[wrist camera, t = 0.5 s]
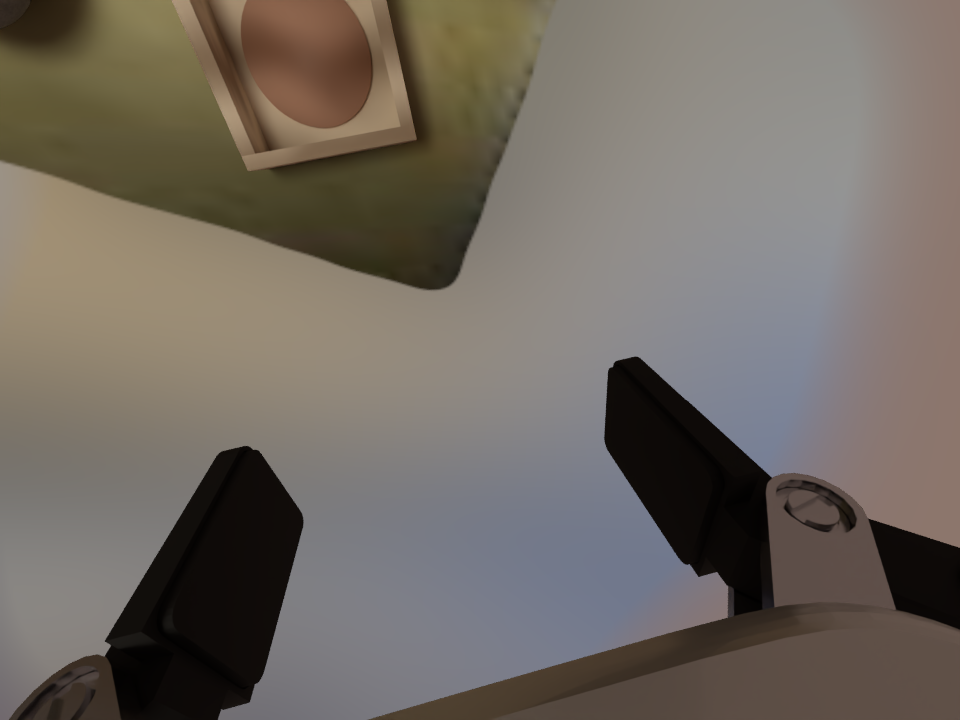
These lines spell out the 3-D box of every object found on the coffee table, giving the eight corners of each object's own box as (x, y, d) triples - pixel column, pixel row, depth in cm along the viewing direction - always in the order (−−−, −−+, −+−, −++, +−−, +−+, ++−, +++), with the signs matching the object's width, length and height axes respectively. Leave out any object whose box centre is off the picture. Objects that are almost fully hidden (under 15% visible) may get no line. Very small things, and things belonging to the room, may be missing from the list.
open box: (178, -46, 24) (134, -83, 20) (368, -74, 25) (361, -116, 21) (268, 169, 31) (248, 171, 27) (415, 140, 32) (416, 139, 28)
